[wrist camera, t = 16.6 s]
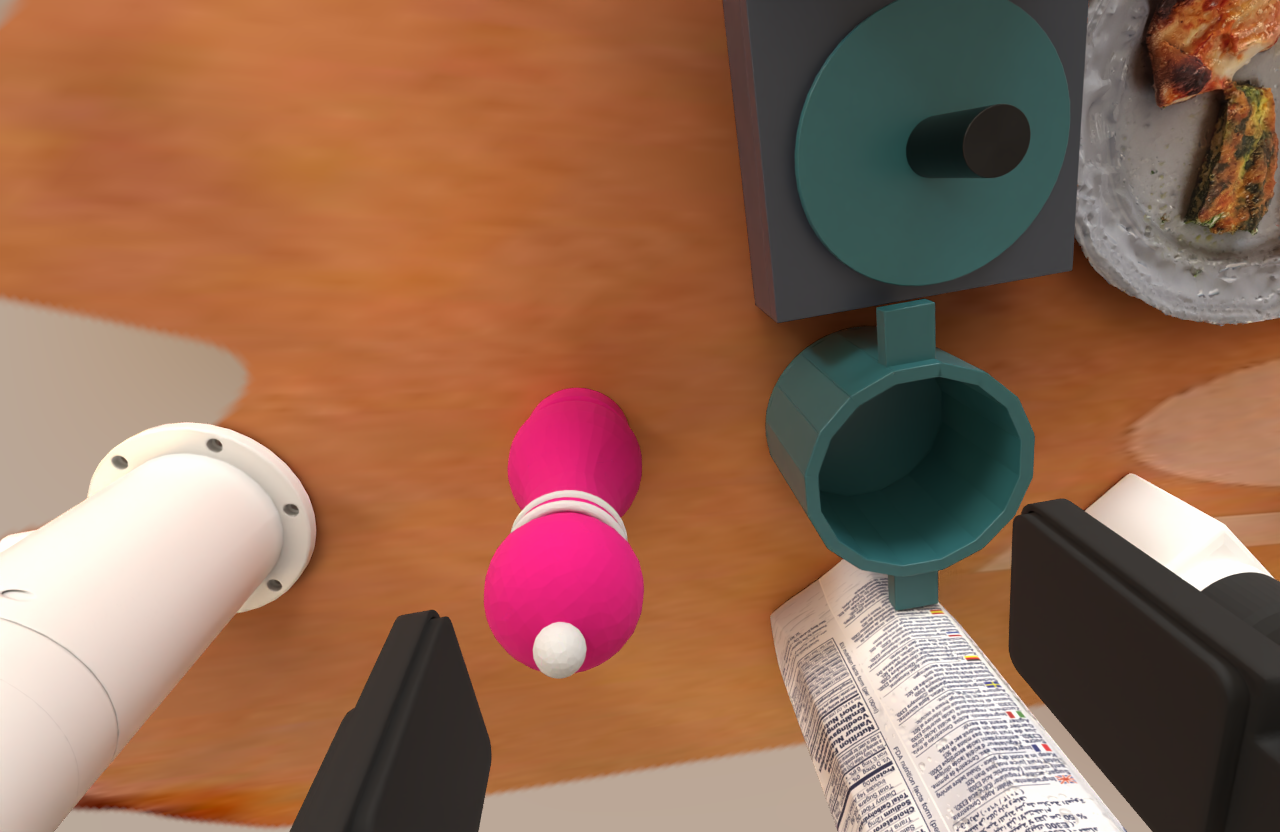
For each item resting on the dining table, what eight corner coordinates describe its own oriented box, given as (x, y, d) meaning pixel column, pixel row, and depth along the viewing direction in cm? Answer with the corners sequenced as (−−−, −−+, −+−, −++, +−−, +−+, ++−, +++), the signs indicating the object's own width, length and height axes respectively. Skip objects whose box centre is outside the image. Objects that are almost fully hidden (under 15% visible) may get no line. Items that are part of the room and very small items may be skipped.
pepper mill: (660, 451, 40) (711, 689, 22) (563, 510, 41) (532, 786, 23) (594, 355, 38) (588, 530, 19) (493, 420, 39) (394, 645, 20)
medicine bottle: (1041, 543, 44) (1191, 669, 33) (1128, 469, 43) (1318, 574, 31) (1101, 599, 46) (1262, 736, 35) (1187, 530, 45) (1385, 650, 33)
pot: (778, 550, 43) (818, 634, 35) (750, 299, 38) (791, 332, 30) (949, 519, 43) (1028, 597, 35) (948, 263, 37) (1042, 287, 29)
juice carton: (747, 614, 45) (935, 1180, 20) (871, 519, 43) (1259, 1012, 18) (823, 687, 47) (1078, 1272, 22) (944, 601, 45) (1376, 1135, 20)
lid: (801, 303, 33) (844, 329, 27) (778, 20, 28) (823, -19, 23) (1048, 258, 33) (1143, 276, 27) (1062, -31, 28) (1179, -84, 23)
